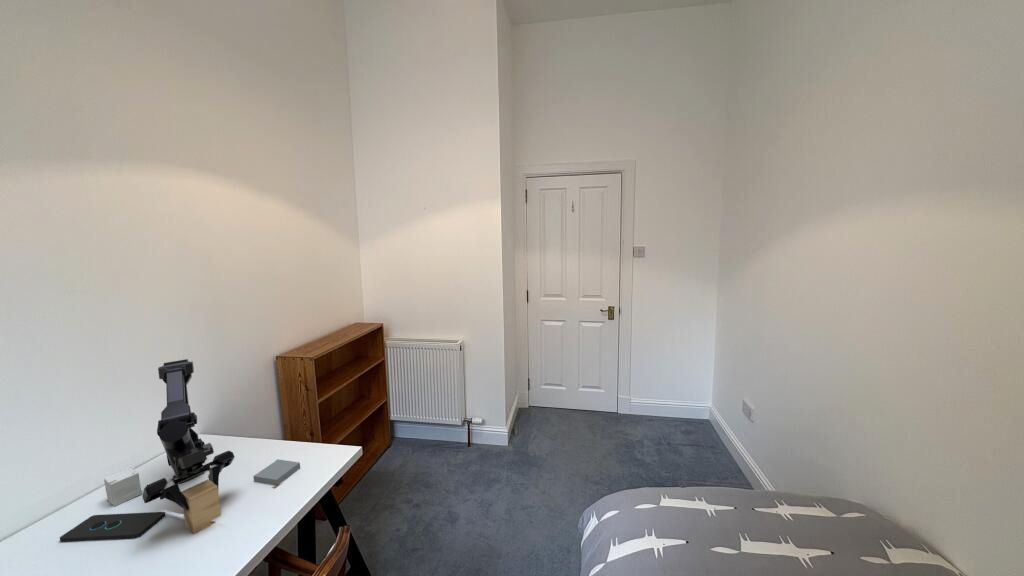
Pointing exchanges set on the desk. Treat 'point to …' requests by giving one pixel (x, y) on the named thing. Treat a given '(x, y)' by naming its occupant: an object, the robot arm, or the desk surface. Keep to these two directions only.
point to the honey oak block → (201, 505)
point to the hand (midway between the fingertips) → (202, 502)
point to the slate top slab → (277, 472)
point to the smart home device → (113, 527)
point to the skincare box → (122, 486)
